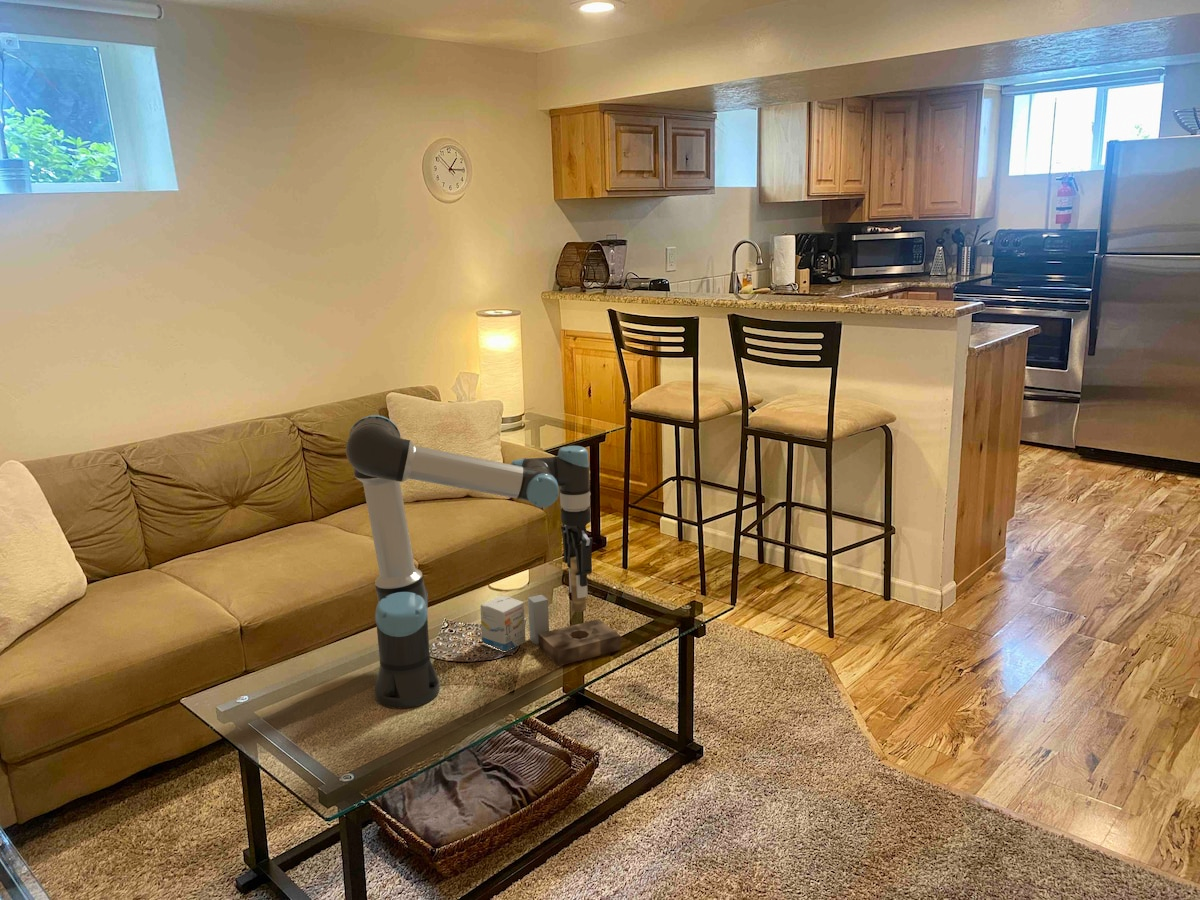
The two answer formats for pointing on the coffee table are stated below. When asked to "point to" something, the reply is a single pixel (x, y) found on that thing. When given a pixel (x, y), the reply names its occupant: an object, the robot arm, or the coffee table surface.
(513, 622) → the ink box
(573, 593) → the oak dowel
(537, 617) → the square peg
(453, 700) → the coffee table surface
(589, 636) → the socket block
